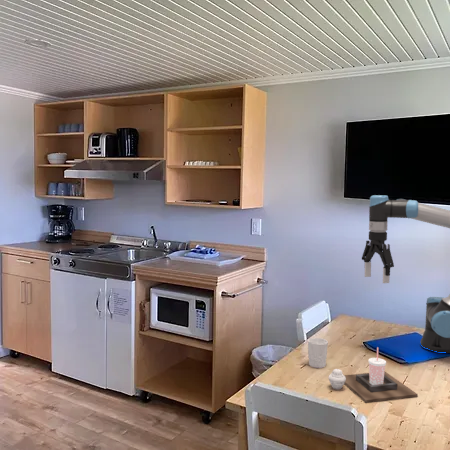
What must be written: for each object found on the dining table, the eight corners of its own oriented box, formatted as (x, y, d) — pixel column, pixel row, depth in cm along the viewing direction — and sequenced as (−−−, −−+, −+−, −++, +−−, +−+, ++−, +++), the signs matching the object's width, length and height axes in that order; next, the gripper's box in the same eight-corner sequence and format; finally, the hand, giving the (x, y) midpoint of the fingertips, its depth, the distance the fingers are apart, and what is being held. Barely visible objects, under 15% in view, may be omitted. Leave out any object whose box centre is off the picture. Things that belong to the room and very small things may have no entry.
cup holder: (384, 373, 181) (385, 366, 181) (417, 396, 161) (417, 388, 161) (337, 378, 176) (338, 370, 176) (365, 402, 157) (366, 394, 156)
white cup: (328, 362, 192) (328, 339, 191) (325, 369, 184) (326, 345, 183) (308, 360, 194) (309, 336, 193) (305, 367, 187) (306, 342, 186)
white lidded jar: (342, 392, 164) (343, 373, 163) (325, 388, 167) (326, 369, 167) (347, 386, 169) (348, 367, 169) (331, 382, 173) (332, 364, 172)
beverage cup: (376, 389, 164) (377, 351, 163) (363, 383, 170) (365, 345, 169) (388, 386, 167) (390, 348, 166) (376, 379, 173) (377, 343, 171)
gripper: (354, 228, 211) (353, 274, 213) (388, 234, 187) (386, 286, 189) (369, 228, 213) (367, 273, 215) (404, 233, 189) (402, 285, 191)
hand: (376, 279), depth 202 cm, fingers open, 13 cm apart
